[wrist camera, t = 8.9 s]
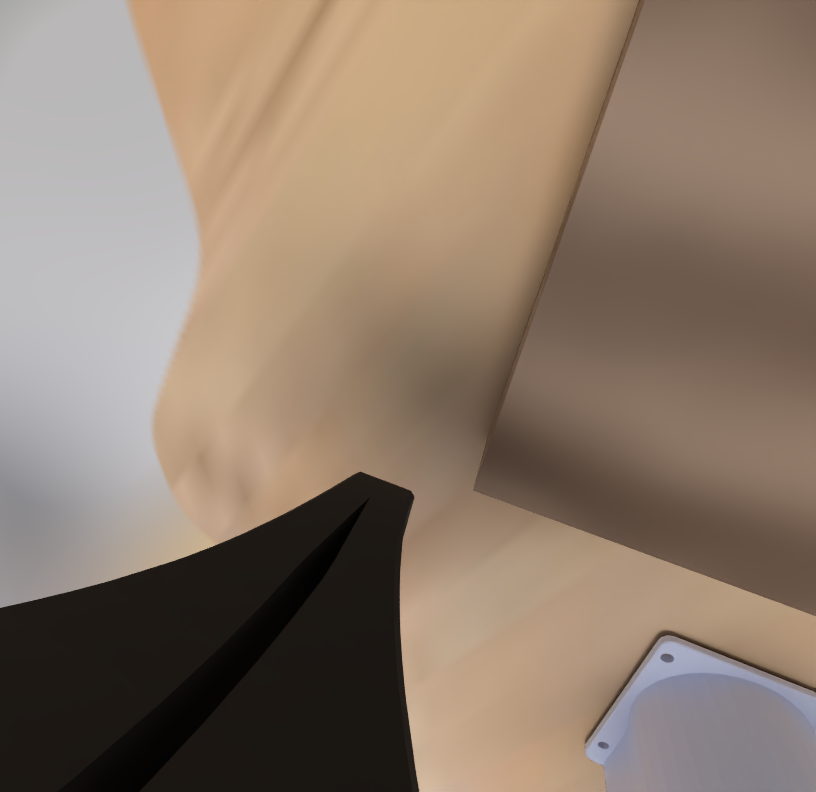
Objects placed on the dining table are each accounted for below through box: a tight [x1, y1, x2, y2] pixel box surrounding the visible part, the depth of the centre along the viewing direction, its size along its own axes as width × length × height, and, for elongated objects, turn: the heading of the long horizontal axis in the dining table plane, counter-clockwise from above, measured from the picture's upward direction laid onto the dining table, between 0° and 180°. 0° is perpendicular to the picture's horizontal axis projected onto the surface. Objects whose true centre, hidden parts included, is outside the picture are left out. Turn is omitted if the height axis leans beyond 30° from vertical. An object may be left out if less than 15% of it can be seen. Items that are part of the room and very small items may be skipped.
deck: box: [473, 0, 816, 616], centre depth 12 cm, size 16×12×4 cm
